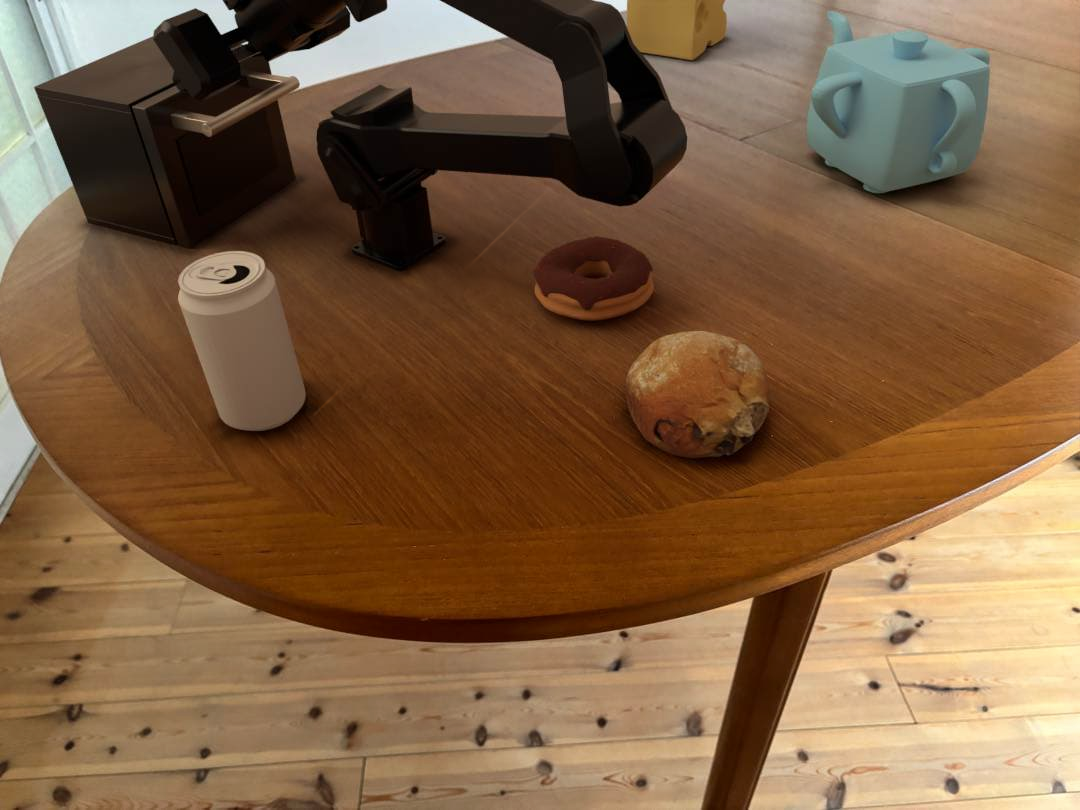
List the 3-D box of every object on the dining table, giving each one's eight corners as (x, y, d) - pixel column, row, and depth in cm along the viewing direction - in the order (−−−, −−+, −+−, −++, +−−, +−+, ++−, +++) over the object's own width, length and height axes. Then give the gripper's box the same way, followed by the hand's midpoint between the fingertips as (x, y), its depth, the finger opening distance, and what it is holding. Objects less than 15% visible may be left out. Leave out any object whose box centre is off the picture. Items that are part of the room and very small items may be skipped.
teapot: (983, 151, 96) (1020, 18, 88) (953, 219, 85) (992, 75, 77) (811, 123, 104) (830, -2, 95) (764, 183, 93) (780, 48, 84)
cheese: (725, 38, 127) (732, -40, 120) (692, 63, 120) (697, -18, 113) (657, 29, 131) (660, -47, 125) (622, 52, 124) (623, -27, 118)
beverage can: (287, 442, 65) (244, 300, 58) (205, 433, 66) (153, 293, 59) (321, 387, 70) (286, 249, 62) (243, 379, 71) (200, 243, 64)
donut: (630, 258, 83) (631, 219, 80) (670, 316, 75) (673, 275, 73) (522, 278, 81) (519, 238, 78) (552, 339, 74) (550, 297, 71)
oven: (282, 177, 99) (250, 45, 90) (176, 246, 88) (128, 104, 79) (199, 159, 103) (160, 32, 94) (88, 223, 93) (33, 86, 84)
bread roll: (751, 421, 70) (751, 317, 68) (788, 462, 60) (789, 342, 58) (622, 428, 70) (619, 324, 68) (637, 470, 60) (634, 350, 58)
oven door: (334, 187, 96) (308, 55, 88) (231, 259, 85) (189, 117, 77) (284, 176, 99) (253, 47, 90) (178, 245, 88) (131, 106, 79)
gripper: (323, -133, 77) (234, -43, 88) (152, -84, 65) (72, 14, 76) (395, -8, 81) (301, 65, 92) (246, 62, 69) (157, 136, 79)
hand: (214, 67), depth 85 cm, fingers open, 9 cm apart
